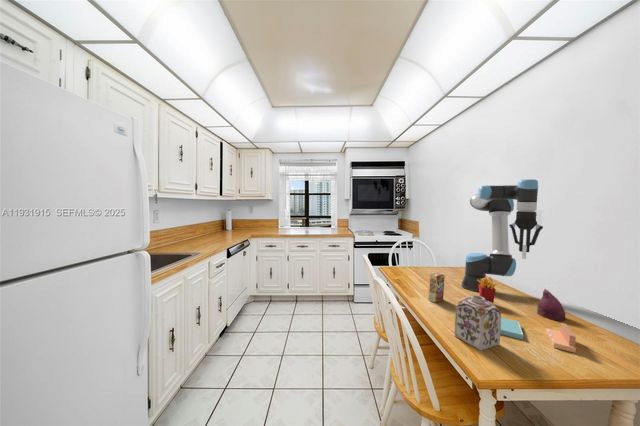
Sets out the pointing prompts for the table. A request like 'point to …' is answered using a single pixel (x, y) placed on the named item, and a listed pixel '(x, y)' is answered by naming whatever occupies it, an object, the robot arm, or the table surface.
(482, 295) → the french fries
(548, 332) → the stub
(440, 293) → the candy box
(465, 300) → the decorative jar
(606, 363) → the table surface
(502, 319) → the ticket
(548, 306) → the vegetable
